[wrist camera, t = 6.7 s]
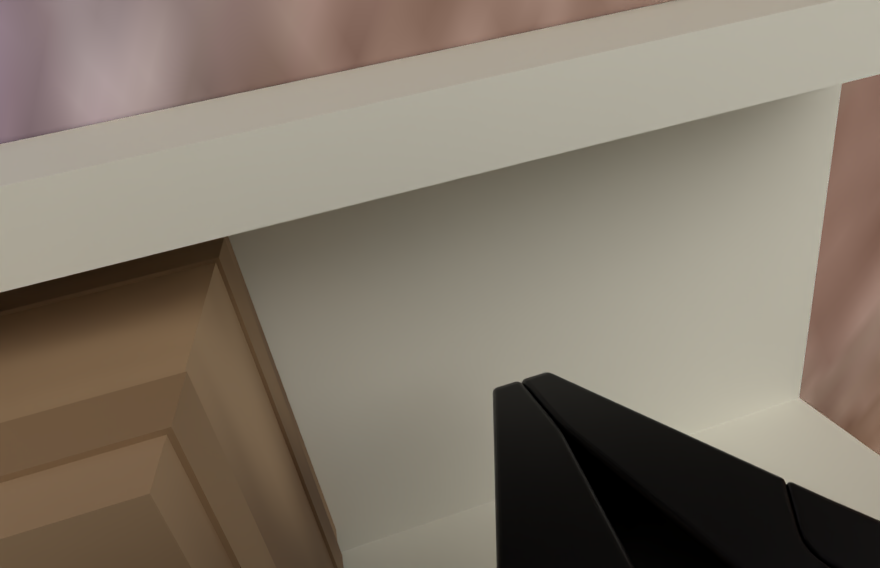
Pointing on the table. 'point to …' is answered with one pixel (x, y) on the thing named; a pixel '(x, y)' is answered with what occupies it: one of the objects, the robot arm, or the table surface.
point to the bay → (498, 244)
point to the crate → (151, 424)
